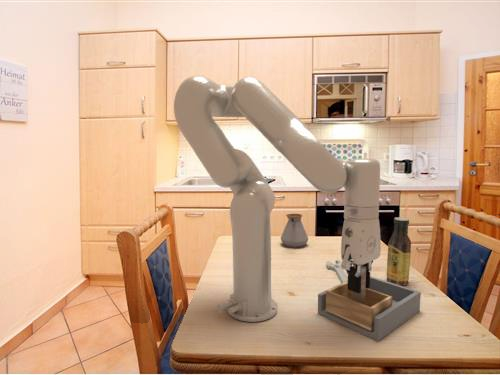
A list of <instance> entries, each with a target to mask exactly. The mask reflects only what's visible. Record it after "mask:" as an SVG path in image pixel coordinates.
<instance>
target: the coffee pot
mask: <svg viewBox="0 0 500 375" xmlns="http://www.w3.org/2000/svg"><path fill="white" fill-rule="evenodd" d="M285 216H286V217H287V219H288V220H287V223H286V224H285V227H284V229H283V232H282V234H281V236H280V241H281V242H282V243H283V244H284V245H285V247H288V248H291V249H292V248H302V247H304V246H305V245H306V244H308V242H309V236H308V234H307V233H306V230H305V226H304V225H303V222H302V217H303V214H302V213H288V214H285Z"/></svg>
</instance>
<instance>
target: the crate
mask: <svg viewBox="0 0 500 375" xmlns="http://www.w3.org/2000/svg"><path fill="white" fill-rule="evenodd" d="M352 266H353V267H354V268H356V265H352ZM360 276H361V292H360V293H356V292H353V291H351V290H348V281H347V282H345V283H343V284H341V283H340V285H339V284H337V285H338V286H337V285H335V286H336V287H335V286H333V287H334V288H333V287H331V288H332V289H330V288H329V289H330V290H328V289H326V290H327V291H326V290H325V291H326V311H328V312H330V313H332V314H334V315H337V316H339V317H341V318H343V319H346V320H348V321H350V322H352V323H354V324H357V325H359V326H361V327H363V328H366V329H368V330H370V331H372V330H373V329H374V324H375V317H376V316H378V315H379V314H381V313H382V312H384V311H385V310H387V309H389V308H390V307H392V296H389V295H386V294H383V293H380V292H377V291H374V290H372V289H369V288H368V289H367V288H366V266H364V265H361V267H360Z"/></svg>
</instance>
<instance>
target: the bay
mask: <svg viewBox="0 0 500 375" xmlns="http://www.w3.org/2000/svg"><path fill="white" fill-rule="evenodd" d="M346 282H347V281H346ZM344 283H345V282H344ZM340 284H343V283H340ZM340 284H337V285H335V286H332V287H331V288H328V289H326V290H324V291H321V292H319V293H318V294H317V314H318V315H321V316H323V317H325V318H328V320H331V321H333V322H335V323H337V324H340V325H342V326H343V327H346V328H348V329H351V330H353V331H355V332H357V333H359V334H361V335H363V336H365V337H368V338H370V339H372V340H374V341H377V342H380V341H381V340H383V338H385V337H386V336H388V335H389V334H391V333H392V332H393V331H395V330H396V329H397V328H399V327H400V326H401V325H402V324H404V323H406V322H407V321H408V320H409V319H411V318H412V317H414V316H415V315H417V314H418V313H419V312H420V310H421V295H422V294H421V291H419V290H415V289H413V288H409V287H406V286H404V285H402V286H400V285H397V284H394V283H390V282H388V281H387V280H383V279H381V278H377V277H374V276H371V275H370V288H369V289H372V290H374V291H377V292H380V293H383V294H386V295H389V296H392V307H390V308H389V309H387V310H385V311H384V312H382V313H381V314H379V315H378V316H376V317H375V324H374V329H373V330H372V331H370V330H368V329H366V328H363V327H361V326H359V325H357V324H354V323H352V322H350V321H348V320H346V319H343V318H341V317H339V316H337V315H334V314H332V313H330V312H328V311H326V291H327V290H330V289H332V288H334V287H336V286H338V285H340Z"/></svg>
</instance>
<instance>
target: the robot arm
mask: <svg viewBox="0 0 500 375" xmlns="http://www.w3.org/2000/svg"><path fill="white" fill-rule="evenodd" d="M177 88H178V89H177V90H176V93H175V96H174V100H173V114H174V118H175V122H176V124H177V126H178V128H179V131H180V132H181V134H182V135H183V137H184V138H185V140H186V141H187V143H188V144H189V146H190V147H191V148H192V150H193V152H194V153H195V155H196V157H197V158H198V160H199V161H200V163H201V164H202V166H203V167H204V168H205V170H206V172H207V174H209V176H210V178H211V180H212V181H213V182H214V183H215V184H216V185H217V186H219V187H221V188H224V189H225V188H226V189H227V188H230V190H231V191H232V193H233V194H234V195H233V197H232V199H231V201H230V205H229V206H230V207H229V217H230V225H231V234H232V235H231V236H232V273H233V274H232V276H233V277H232V282H233V286H232V287H233V288H232V290H233V293H231V294H230V295H229V299H228V300H227V301H225V302H222V303H219V304H218V305H216V308H217V312H219V314H220V313H221V314H222V313H223V312H227V313H228V315H230V317H232V318H234V319H235V320H238V321H241V322H249V323H251V322H253V323H256V322H257V323H258V322H263V321H266V320H269V319H271V318H273V317H274V316H275V315H276V314H277V312H278V304H277V302H276V301H275V300H274V299H272V234H271V233H272V232H271V231H272V228H271V213H272V211H273V209H274V207H275V203H276V196H275V193H274V190H273V188H272V187H271V186H270V184H269V183H268V182H267V180H266V178H265V177H264V175H263V174H262V172H261V171H260V169H259V168H258V166H257V165H256V163H255V162H254V161H253V159H252V158H251V156H249V155H248V153H246V152H244V150H242V149H239V148H235V147H234V146H233V145H232V143H231V142H230V141H229V139H228V138H227V136H226V135H225V133H224V132H223V129H221V127H220V126H219V125H218V123H217V122H216V121H215V120H214V118H245V119H246V120H247V121H248V122H249V123H250V124H252V126H253V127H255V129H256V130H257V131H259V132H260V134H262V136H263V137H264V138H265V139H266V140H267V141H268V142H269V143H270V144H271V145H272V146H273V147H274V148H275V149H276V150H277V151H278V152H279V153H280V154H281V155H282V156H283V157H284V158H285V159H286V160H287V161H288V162H289V163H290V164H291V165H292V166H293V168H295V169H296V171H298V172H299V173H300V174H301V176H303V177H304V178H305V179H306V181H307V182H309V184H311V185H312V186H313V187H314V188H315V189H316V190H318V191H319V192H321V193H324V194H334V193H337V192H338V191H340V190H341V189H342V188H344V204H343V205H344V207H343V208H344V209H343V211H344V212H343V218H344V221H343V225H342V231H341V232H342V233H341V240H340V241H341V243H340V257H341V261H342V264H341V267H342V268H343V270H344V271H346V275H347V277H348V290H351V291H353V292H356V293H360V292H361V276H360V267H361V265H364V266H366V288H367V289H368V288H370V276H371V271H372V269H373V268H372V265H373V263H374V261H375V260H377V259H379V258H380V256H381V250H382V249H381V247H382V246H381V241H382V240H381V225H380V219H379V216H380V214H379V210H380V188H381V183H380V182H381V164H380V161H379V160H378V159H375V158H351V159H342V158H337V157H336V156H335V155H334V154H332V153H331V151H330V150H328V148H326V147H325V145H323V144H322V143H321V142H320V141H319V140H318V139H317V138H316V137H315V135H313V134H312V133H311V131H310V130H309V129H308V128H307V127H306V126H305V124H304V123H303V122H302V120H301V119H300V118H299V117H298V116H297V115H296V114H295V113H294V112H293V111H292V110H291V109H290V108H289V107H288V106H286V104H285V103H283V102H282V101H281V99H280V98H278V96H276V95H275V94H274V93H273V91H272V90H271V89H270V88H269V87H267V86H266V85H265V84H264V82H262V81H261V80H260V79H258V78H257V77H253V76H246V77H243V78H241V79H240V80H238V81H237V82H236V83H235V84H218V83H216V82H215V81H213V80H212V79H210V78H208V77H205V76H202V75H201V76H200V75H193V76H189V77H187V78H186V79H184V80H183V81H182V82H181V83H180V85H179V86H178V87H177ZM353 265H356V268H354V267H353Z"/></svg>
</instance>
